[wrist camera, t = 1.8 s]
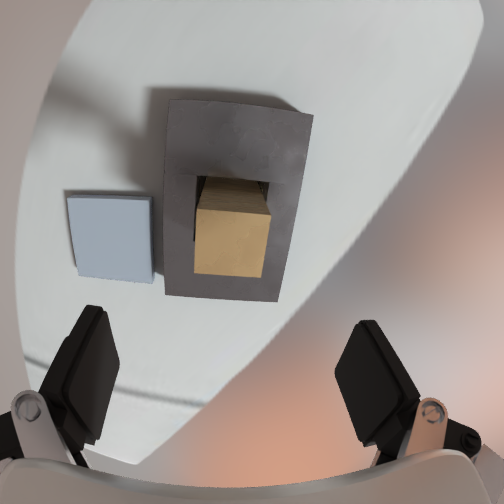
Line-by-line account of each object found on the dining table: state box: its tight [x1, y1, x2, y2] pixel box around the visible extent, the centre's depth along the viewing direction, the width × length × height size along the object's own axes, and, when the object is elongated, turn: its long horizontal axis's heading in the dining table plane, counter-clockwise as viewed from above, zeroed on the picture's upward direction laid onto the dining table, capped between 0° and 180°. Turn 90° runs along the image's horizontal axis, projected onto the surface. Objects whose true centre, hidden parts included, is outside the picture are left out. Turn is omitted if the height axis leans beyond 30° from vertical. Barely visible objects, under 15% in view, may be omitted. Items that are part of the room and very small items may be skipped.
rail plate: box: [163, 99, 314, 302], centre depth 21 cm, size 16×10×2 cm, turn 173°
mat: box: [67, 195, 155, 284], centre depth 23 cm, size 8×8×1 cm
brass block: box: [194, 177, 271, 278], centre depth 19 cm, size 4×4×8 cm
